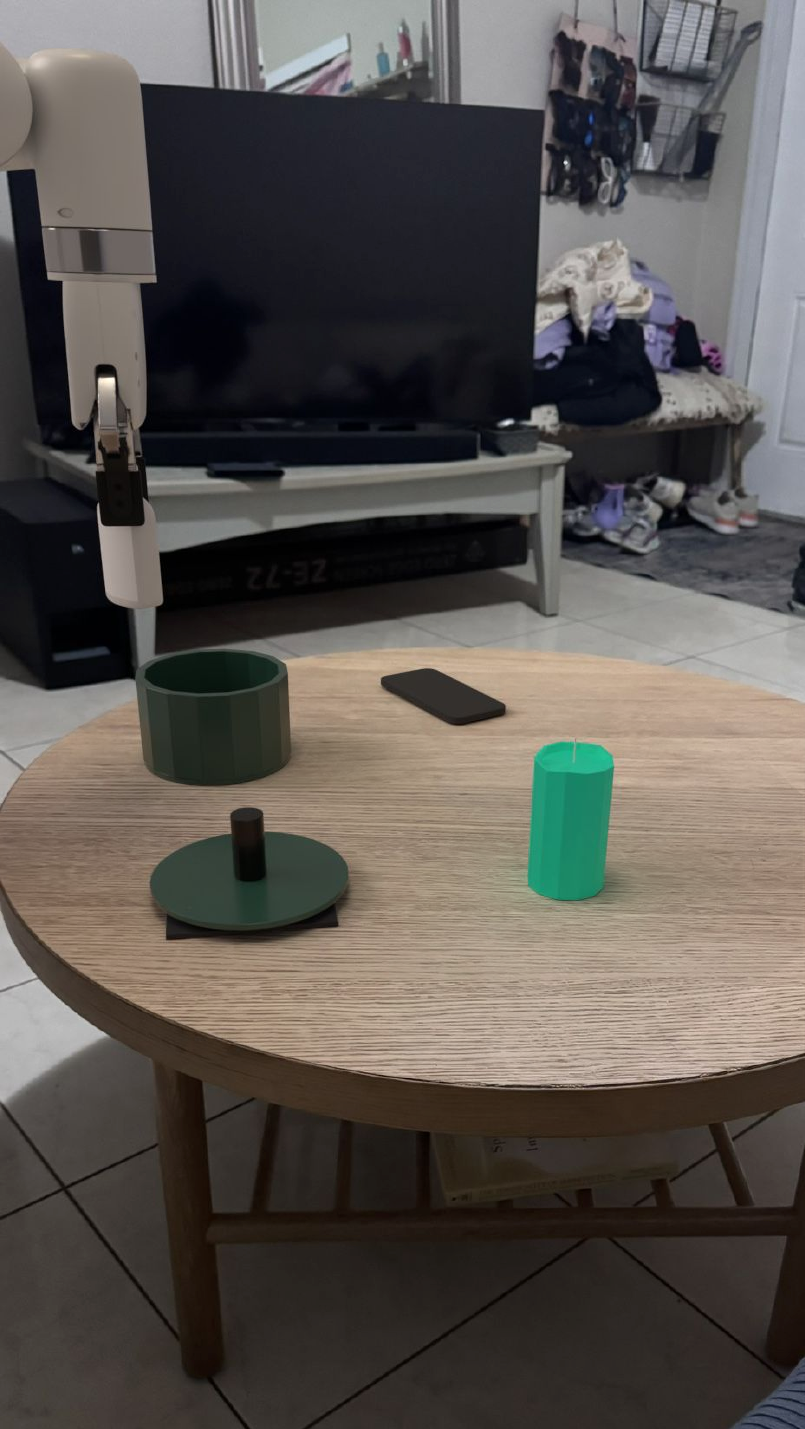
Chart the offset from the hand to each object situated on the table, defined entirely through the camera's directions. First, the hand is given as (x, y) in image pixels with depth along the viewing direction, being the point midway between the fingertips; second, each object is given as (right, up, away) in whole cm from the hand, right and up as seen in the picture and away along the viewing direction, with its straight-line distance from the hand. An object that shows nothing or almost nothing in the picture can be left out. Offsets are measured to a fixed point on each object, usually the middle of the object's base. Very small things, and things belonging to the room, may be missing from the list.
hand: (125, 514), depth 91 cm
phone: (+24, -10, +36) cm, 44 cm away
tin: (+3, -18, +20) cm, 27 cm away
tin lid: (+10, -28, -4) cm, 31 cm away
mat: (+10, -29, -3) cm, 31 cm away
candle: (+34, -29, 0) cm, 45 cm away
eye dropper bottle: (0, -6, +3) cm, 7 cm away
